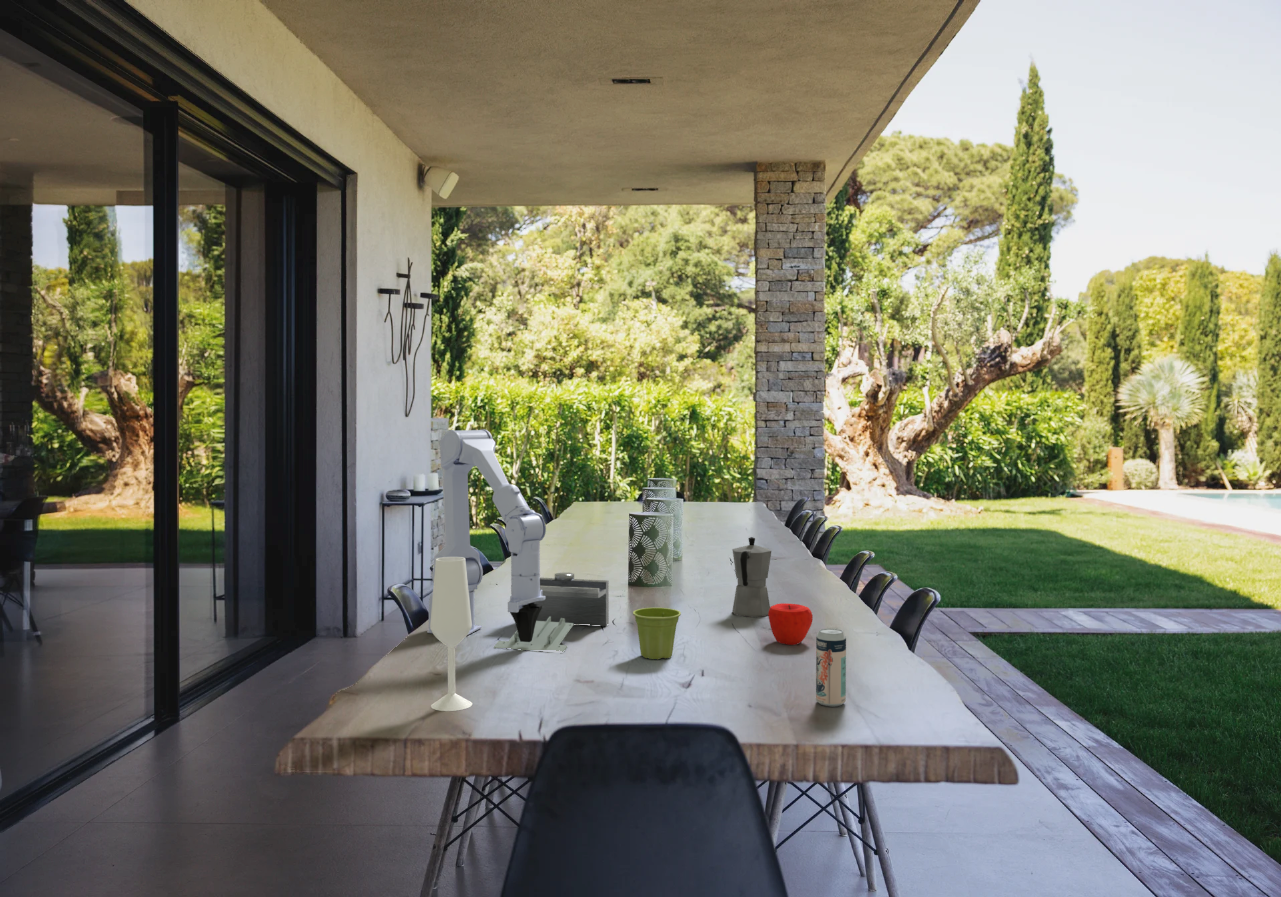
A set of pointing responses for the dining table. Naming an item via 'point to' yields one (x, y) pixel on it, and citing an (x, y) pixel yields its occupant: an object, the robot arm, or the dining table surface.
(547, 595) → the stand
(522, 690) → the dining table surface
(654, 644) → the plant pot
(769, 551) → the coffeepot
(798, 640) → the apple
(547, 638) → the metal bracket
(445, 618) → the champagne flute
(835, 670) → the beer can
